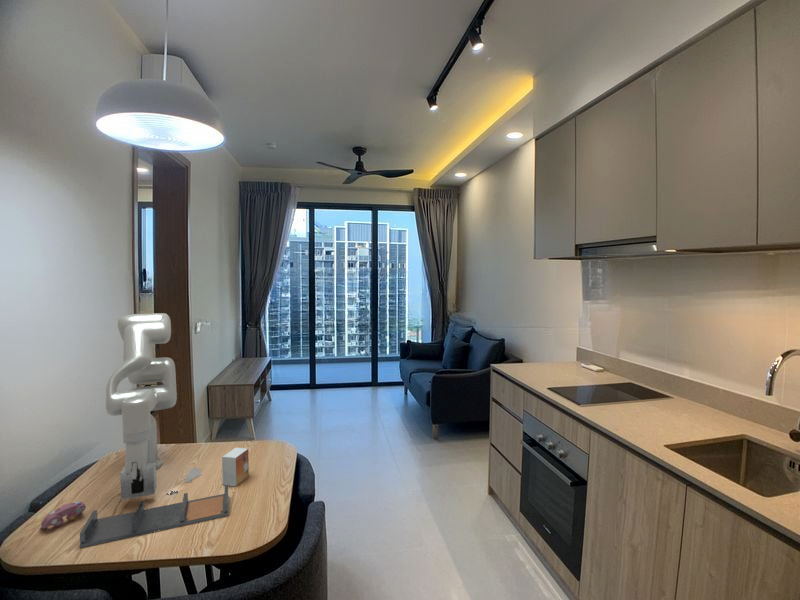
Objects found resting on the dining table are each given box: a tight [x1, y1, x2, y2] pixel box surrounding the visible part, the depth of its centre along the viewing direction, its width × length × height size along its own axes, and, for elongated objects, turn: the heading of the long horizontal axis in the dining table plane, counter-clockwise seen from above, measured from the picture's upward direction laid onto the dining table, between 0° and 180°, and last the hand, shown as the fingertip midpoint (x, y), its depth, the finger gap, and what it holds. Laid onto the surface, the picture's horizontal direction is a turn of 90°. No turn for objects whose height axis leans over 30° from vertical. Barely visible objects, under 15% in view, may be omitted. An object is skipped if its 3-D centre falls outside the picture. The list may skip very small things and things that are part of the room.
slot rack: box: [79, 485, 229, 549], centre depth 119 cm, size 12×37×4 cm, turn 113°
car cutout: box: [163, 466, 203, 496], centre depth 139 cm, size 15×7×4 cm, turn 162°
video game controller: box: [40, 500, 86, 530], centre depth 117 cm, size 10×5×7 cm, turn 149°
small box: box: [221, 447, 250, 487], centre depth 141 cm, size 8×6×10 cm
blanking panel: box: [119, 462, 158, 501], centre depth 127 cm, size 4×9×9 cm, turn 113°
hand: (139, 488), depth 127 cm, fingers closed on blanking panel, 4 cm apart
